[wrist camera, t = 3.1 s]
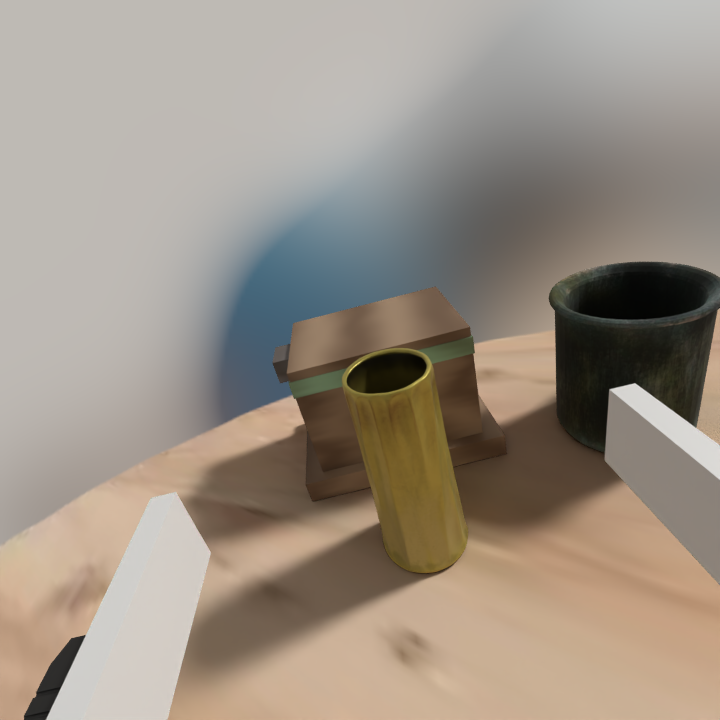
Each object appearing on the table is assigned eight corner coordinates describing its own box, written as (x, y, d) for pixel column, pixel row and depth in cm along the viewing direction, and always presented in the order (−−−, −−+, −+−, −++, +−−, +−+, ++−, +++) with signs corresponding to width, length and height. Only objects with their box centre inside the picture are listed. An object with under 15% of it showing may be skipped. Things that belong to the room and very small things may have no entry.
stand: (462, 382, 46) (448, 279, 41) (506, 453, 35) (494, 327, 30) (312, 420, 47) (277, 323, 41) (311, 501, 36) (264, 385, 30)
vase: (480, 564, 28) (452, 383, 21) (390, 584, 28) (334, 412, 21) (454, 495, 33) (426, 334, 26) (379, 512, 33) (332, 358, 27)
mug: (535, 444, 36) (528, 317, 30) (577, 359, 45) (579, 249, 39) (697, 483, 29) (728, 328, 23) (708, 373, 38) (731, 244, 33)
